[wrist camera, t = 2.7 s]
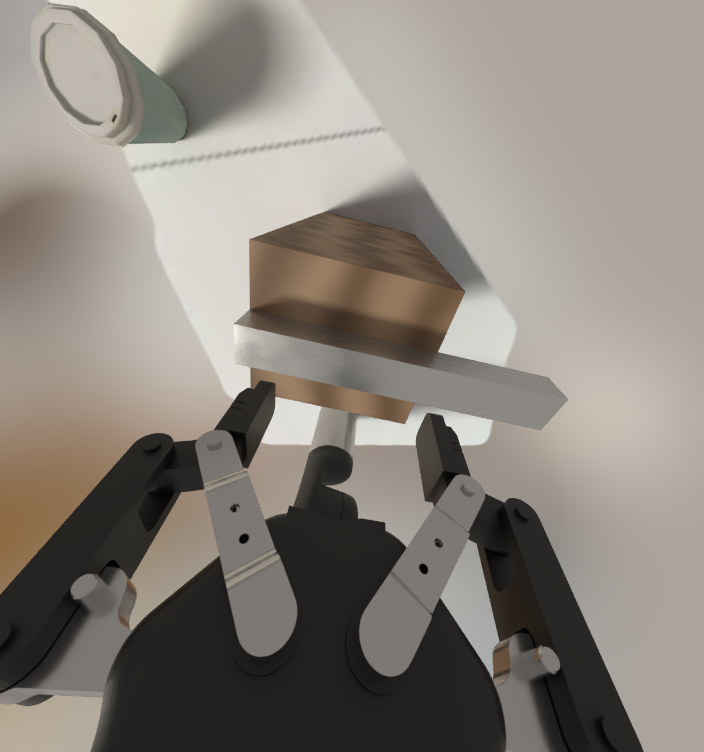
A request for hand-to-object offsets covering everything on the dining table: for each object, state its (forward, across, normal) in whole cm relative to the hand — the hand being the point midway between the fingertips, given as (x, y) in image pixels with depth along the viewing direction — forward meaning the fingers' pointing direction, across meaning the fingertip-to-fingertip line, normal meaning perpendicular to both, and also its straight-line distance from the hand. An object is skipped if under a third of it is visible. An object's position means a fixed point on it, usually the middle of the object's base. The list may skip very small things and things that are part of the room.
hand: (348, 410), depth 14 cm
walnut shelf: (+42, +1, +2) cm, 42 cm away
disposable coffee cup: (+42, +33, -14) cm, 55 cm away
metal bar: (+10, -4, +2) cm, 11 cm away
